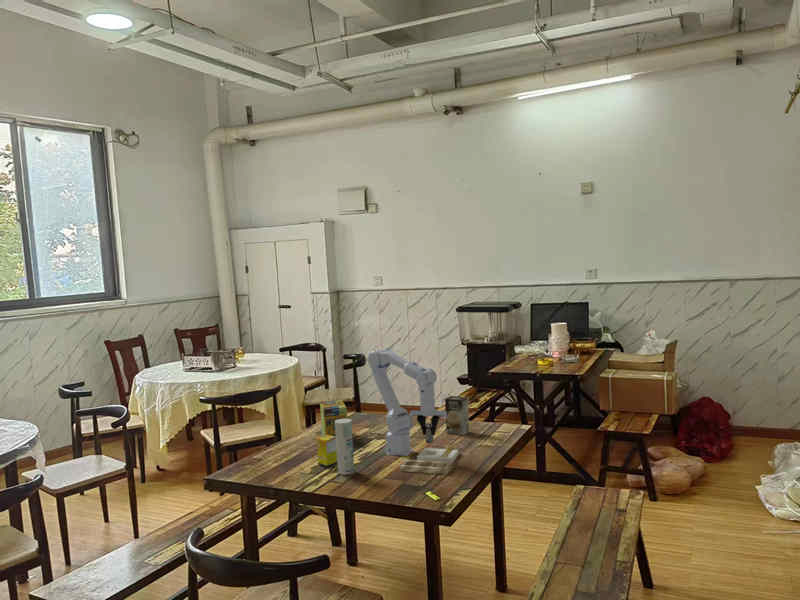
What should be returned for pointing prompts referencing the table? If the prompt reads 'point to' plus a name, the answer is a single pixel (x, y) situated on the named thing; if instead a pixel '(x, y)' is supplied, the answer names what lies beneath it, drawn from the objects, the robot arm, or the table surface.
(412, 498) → the table surface
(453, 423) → the coffee box
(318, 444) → the supplement box
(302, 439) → the table surface
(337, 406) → the protein box
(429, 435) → the stepped metal cylinder
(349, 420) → the spray can
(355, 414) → the table surface
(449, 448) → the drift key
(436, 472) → the rack
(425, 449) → the socket block
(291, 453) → the table surface
